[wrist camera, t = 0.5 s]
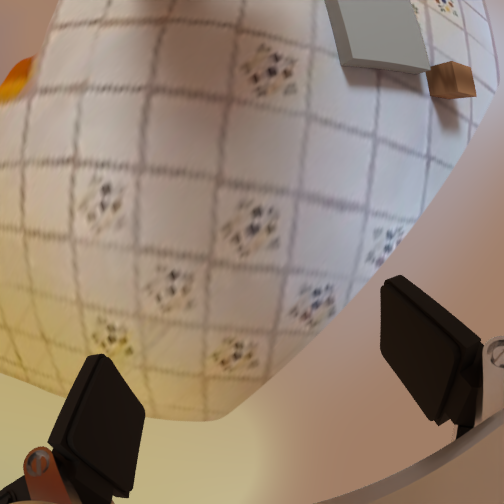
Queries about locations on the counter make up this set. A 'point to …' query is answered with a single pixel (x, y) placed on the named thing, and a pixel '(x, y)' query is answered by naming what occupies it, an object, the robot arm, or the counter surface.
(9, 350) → the counter surface
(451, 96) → the walnut block
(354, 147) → the counter surface
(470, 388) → the robot arm
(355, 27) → the pedestal
